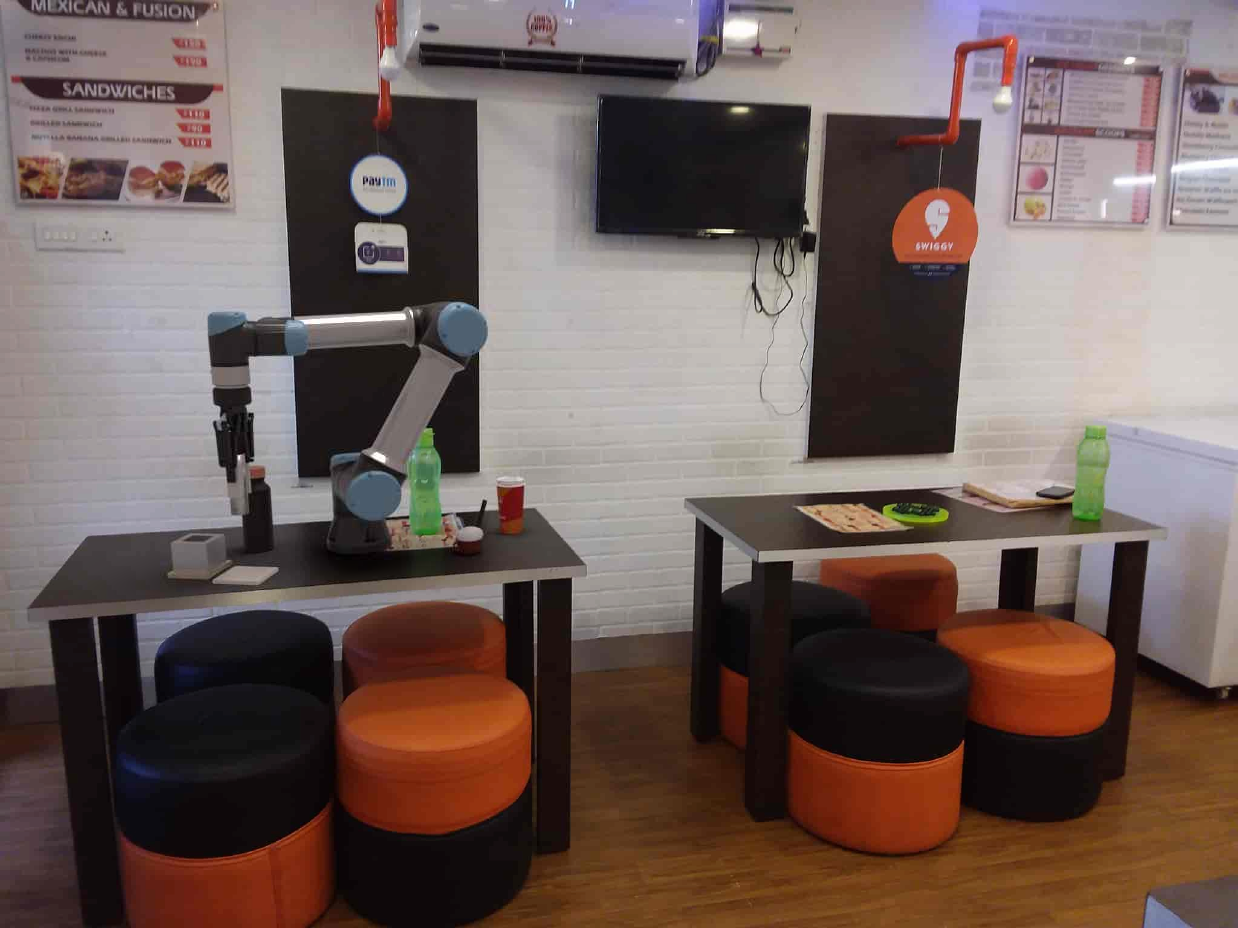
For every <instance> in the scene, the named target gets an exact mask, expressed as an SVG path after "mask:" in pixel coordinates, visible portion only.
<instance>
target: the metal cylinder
mask: <svg viewBox="0 0 1238 928" xmlns="http://www.w3.org/2000/svg"><path fill="white" fill-rule="evenodd" d="M237 467H240V478H241V491H242V497H241V498H231V497H229V503H230V514H231V516H242V515H245V514H248V513H249V505H248V491H247V478H246V464H245V453H237Z"/></svg>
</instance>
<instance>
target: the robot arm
mask: <svg viewBox="0 0 1238 928" xmlns="http://www.w3.org/2000/svg"><path fill="white" fill-rule="evenodd" d="M488 333H489V329H488V324H487V320H486V318H485V316H484V315H483V313H482V312H481V311H480V310H479V309H478V308H476V307H475V306H472V305H471V304H468V303H466V302H463V301H462V302H461V301H455V302H453V301H438V302H434V303H428V304H422V305H414V306H413V305H412V306H406V307H404V309H402V310H400V311H383V312H380V311H379V312H363V313H362V312H358V313H343V314H342V313H341V314H323V315H322V314H320V315H304V316H303V315H302V316H285V317H284V316H283V317H282V316H281V317H273V316H267V317H265V316H264V317H262V318H259V319H257V321H256V320H255V321H254V320H248V319H247V316H246V313H245V312H244V311H212V312H210V313H209V314H208V315H207V341H208V350H209V351H208V352H209V363H210V371H209V373H210V375H211V384H212V385H213V386H215V387H213V388H212V403H213V406H217V407H219V408H220V410H219V419H218V420H213V421H212V426H213V427H212V428H213V429H214V433H215V442H216V450H217V459H218V466H219V467H220V468H222V469H223V468H225V476H226V477H225V478H226V487H227V498H230V497H231V498H241V497H242V491H241V478H240V467H237V453H245V464H246V478H247V491H248V493H251V480H250V467H249V466H250V463H254V462H255V436H254V435H255V434H254V419H255V413H254V412H252V411H251V412H249V411H248V408H247V406H248V405H249V406H250V405H251V404H252V402H253V399H252V388H251V387H250V386H249V385H250V384H251V369H250V358H251V357H252V358H257V357H291V358H292V357H294V356H295V357H296V356H304V355H305V354H307V351H308V350H314V349H316V350H317V349H318V350H319V349H331V348H332V349H333V348H334V349H335V348H348V347H366V346H369V347H370V346H382V345H384V346H385V345H400V344H405V345H406V346H407V347H409V348H416V347H417V348H418V349H419V350H420V356H419V358H418V361H417V362H416V364H415V365H414V368H413V369H412V371H411V373H410V375H409V377H408V379H407V381H406V383H405V385H404V386H403V389H402V390H401V391H400V394H399V396H398V398H397V399H396V401H395V403H394V405H393V406H392V409H391V410H390V412H389V415H388V416H387V418H386V420H385V421H384V422H383V423H384V424H383V426H382V428H381V429H380V431H379V433H378V435H377V437H376V439H375V440H374V442H373V444H372V446H371V447H368V448H367V449H363V450H361V452H350V453H341V454H335V455H332V457H331V458H330V466H329V469H330V477H331V478H330V479H331V495H332V496H331V497H332V512H333V516H332V521H331V524H330V528H329V531H328V535H327V538H326V539H327V540H326V541H327V542H326V545H327V546H326V547H327V550H328V551H330V552H333V553H335V554H343V555H364V554H371V553H377V552H381V551H384V550H386V549H388V548H390V547H391V546H392V543H393V542H392V534H391V531H390V528H389V526H388V523H387V520H386V518H388V517H391V515H393V514H394V513H395V511H397V510H398V508H399V506H400V504H401V502H402V501H401V500H402V493H403V492H402V487H403V486H404V484H405V482H406V480H407V477H408V476H409V470H408V467H407V463H408V461H409V460H410V458H411V455H412V454H413V452H414V451H415V448H416V446H417V444H418V443H419V441H420V439H421V437H422V435H423V434H424V432H425V429H426V428H427V426H428V423H429V422H430V420H431V418H432V417H433V414H434V412H435V411H436V409H437V408H438V405H439V403H440V402H441V399H442V398H443V396H444V394H445V392H446V390H447V388H448V386H449V385H450V382H451V381H452V379H453V377H454V375H455V373H458V372H460V371H463V370H465V368H466V367H467V365H468V364H469V361H470V359H471V358H472V356H473V355H475V354H477V353H478V352H479V351H481V350H482V349H483V348H484V345H485V344H486V342H487V339H488Z"/></svg>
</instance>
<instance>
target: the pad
mask: <svg viewBox="0 0 1238 928" xmlns="http://www.w3.org/2000/svg"><path fill="white" fill-rule="evenodd" d="M278 572H279V567H277V566H276V567H274V566H246V565H235V566H232V567H231V568H230V569H228V570H227V571H225V572H223V573H221V574H220V575H218V576H216V577H215V578H214V579H212V584H214V585H215V584H217V585H218V584H219V585H237V586H238V585H240V586H241V585H244V586H259V585H261V584H262V583H263V582H265V581H266V580H267V579H269V578H271V577H272V576H273V575H275V574H277V573H278Z"/></svg>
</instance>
